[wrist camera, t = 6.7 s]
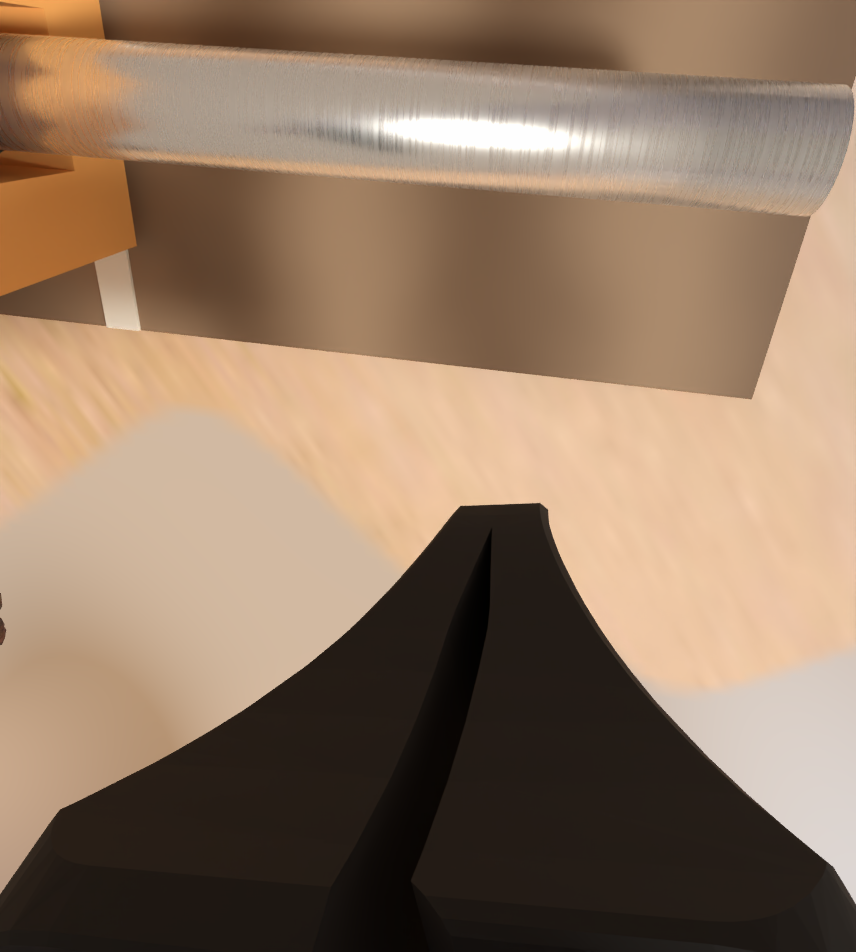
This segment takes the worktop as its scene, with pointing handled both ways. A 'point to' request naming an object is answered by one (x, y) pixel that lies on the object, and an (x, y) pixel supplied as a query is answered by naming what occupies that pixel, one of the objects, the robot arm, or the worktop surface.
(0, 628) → the dark brown lumpy piece
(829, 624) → the worktop surface
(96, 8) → the collar
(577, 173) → the rod stand
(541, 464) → the worktop surface
